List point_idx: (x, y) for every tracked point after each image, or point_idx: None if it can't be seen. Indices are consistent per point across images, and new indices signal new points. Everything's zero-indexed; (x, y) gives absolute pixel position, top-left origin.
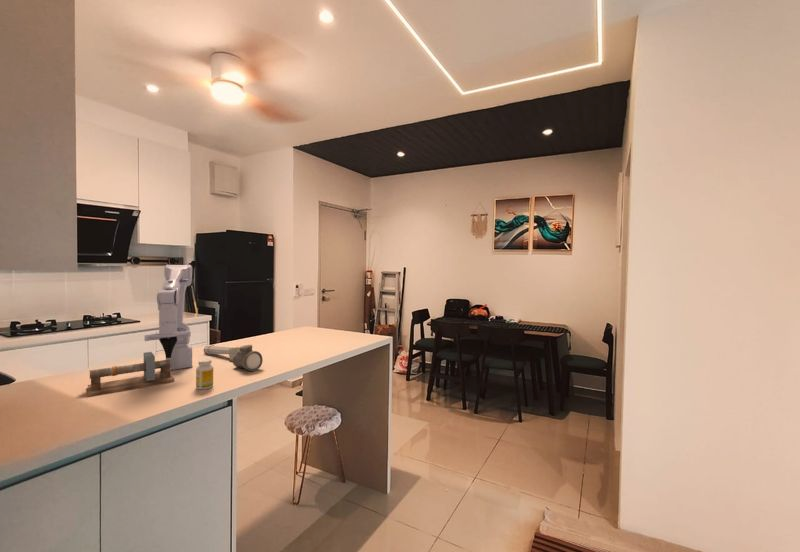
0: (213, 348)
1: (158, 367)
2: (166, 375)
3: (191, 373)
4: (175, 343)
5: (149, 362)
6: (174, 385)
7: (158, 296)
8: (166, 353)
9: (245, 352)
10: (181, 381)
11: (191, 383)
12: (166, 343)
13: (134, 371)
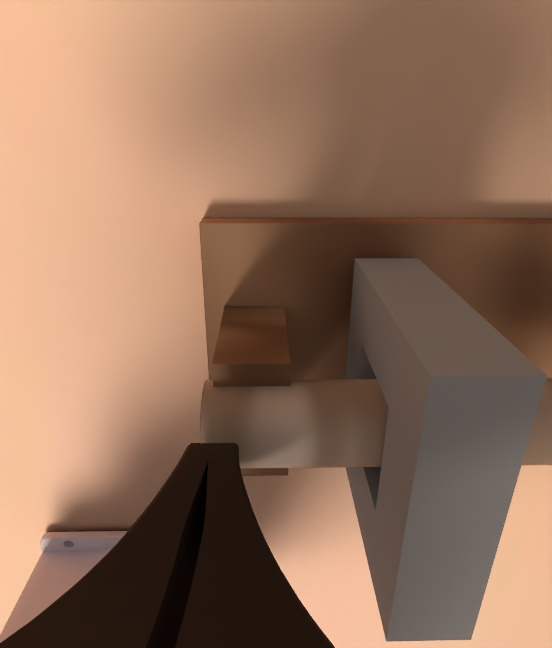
0: None
1: (321, 380)
2: (252, 314)
3: (55, 378)
4: (41, 614)
5: (468, 334)
6: (216, 79)
7: None
8: (238, 481)
9: None
10: (146, 181)
11: (62, 32)
12: (231, 630)
13: None
